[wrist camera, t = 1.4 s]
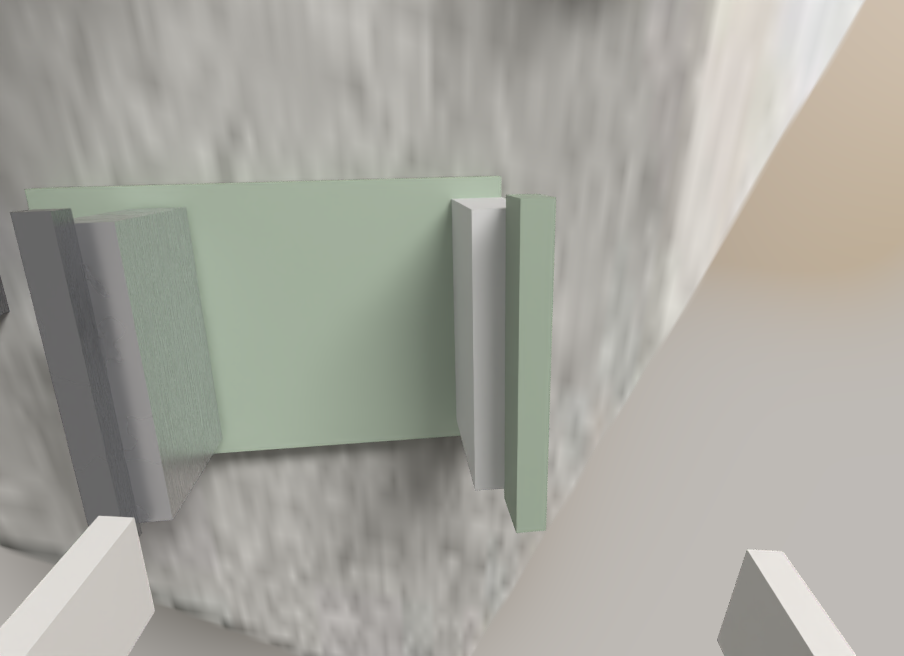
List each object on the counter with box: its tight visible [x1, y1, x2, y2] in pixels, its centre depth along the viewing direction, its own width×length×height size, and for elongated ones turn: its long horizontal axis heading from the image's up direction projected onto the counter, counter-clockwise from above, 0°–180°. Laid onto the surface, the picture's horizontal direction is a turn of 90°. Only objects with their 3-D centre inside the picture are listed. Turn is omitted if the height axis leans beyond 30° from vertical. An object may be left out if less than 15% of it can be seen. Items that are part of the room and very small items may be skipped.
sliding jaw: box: [10, 207, 223, 537], centre depth 23 cm, size 13×2×8 cm, turn 1°
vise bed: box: [25, 176, 556, 533], centre depth 24 cm, size 14×22×11 cm, turn 91°
